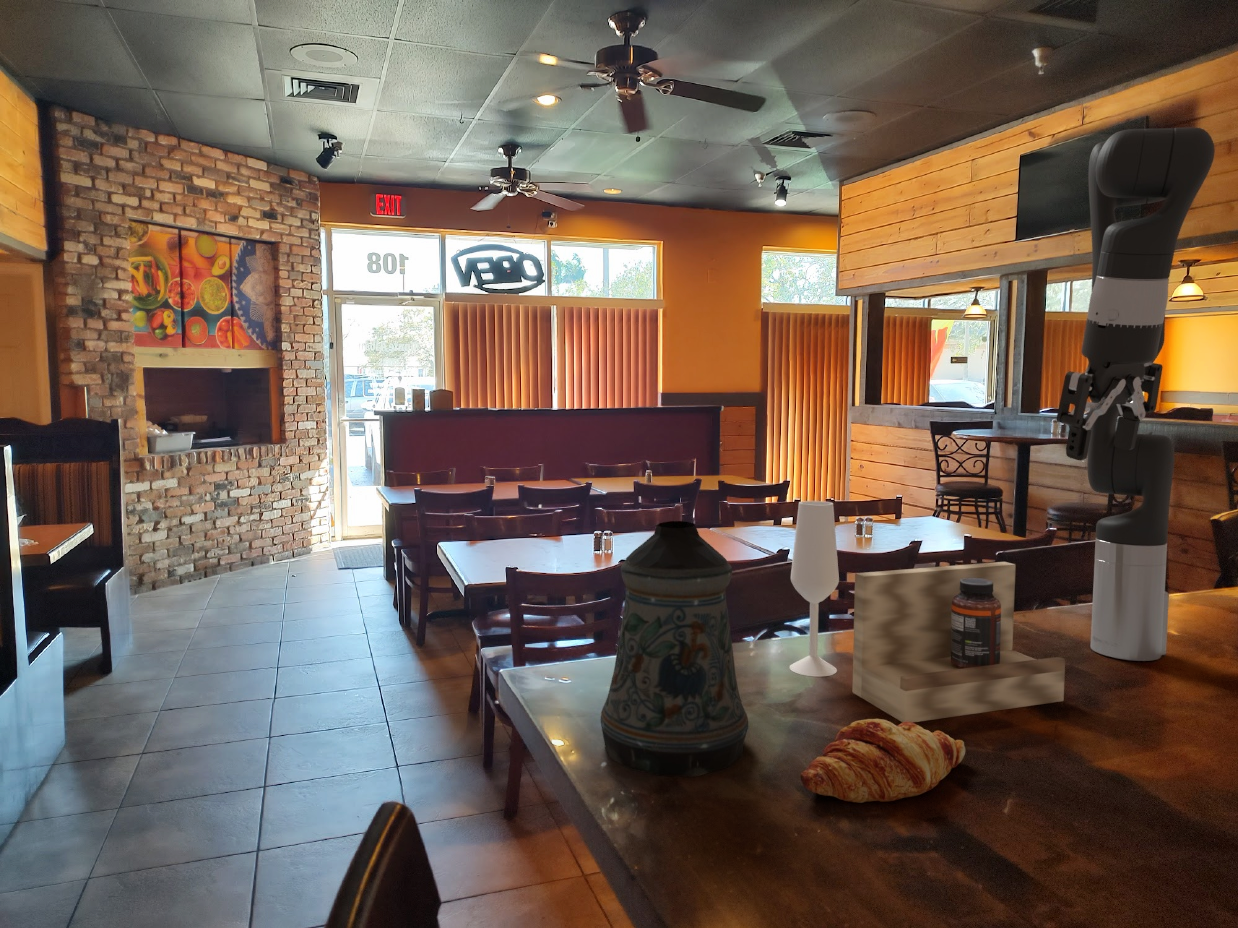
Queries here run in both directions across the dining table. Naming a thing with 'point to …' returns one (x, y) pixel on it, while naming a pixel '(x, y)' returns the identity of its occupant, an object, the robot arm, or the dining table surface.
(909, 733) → the croissant
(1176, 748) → the dining table surface
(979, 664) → the supplement bottle
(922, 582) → the board
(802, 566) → the champagne flute
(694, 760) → the beer stein
